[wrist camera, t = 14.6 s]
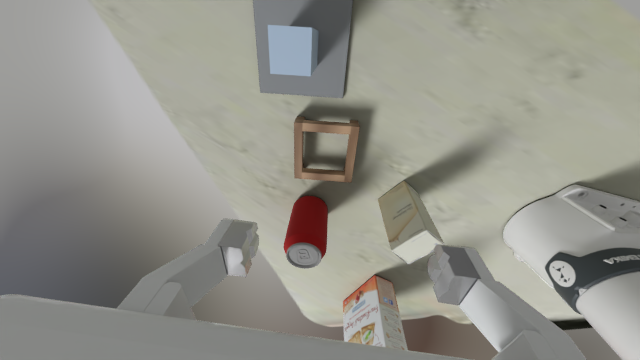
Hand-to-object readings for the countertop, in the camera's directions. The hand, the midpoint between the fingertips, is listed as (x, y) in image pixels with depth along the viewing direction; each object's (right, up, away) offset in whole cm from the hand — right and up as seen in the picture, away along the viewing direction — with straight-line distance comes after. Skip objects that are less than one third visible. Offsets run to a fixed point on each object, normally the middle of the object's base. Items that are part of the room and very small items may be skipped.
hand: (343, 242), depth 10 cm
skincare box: (+13, 0, +32) cm, 34 cm away
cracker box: (+11, -25, +48) cm, 55 cm away
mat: (-3, +21, +20) cm, 29 cm away
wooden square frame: (0, +8, +27) cm, 28 cm away
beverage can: (-3, -2, +34) cm, 34 cm away
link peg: (-3, +20, +19) cm, 28 cm away
